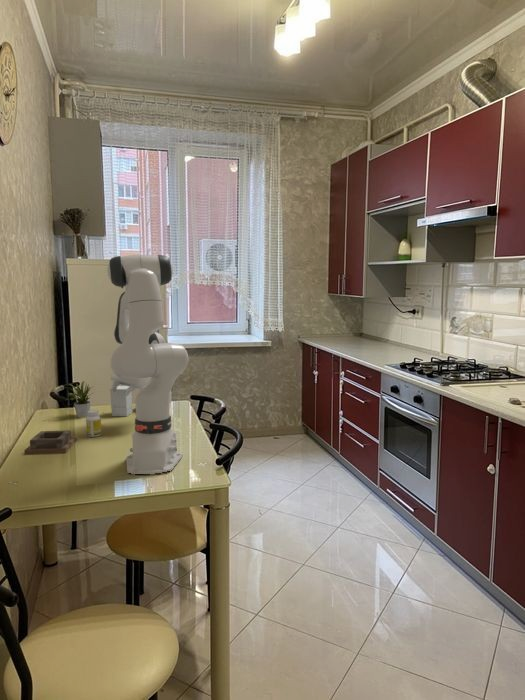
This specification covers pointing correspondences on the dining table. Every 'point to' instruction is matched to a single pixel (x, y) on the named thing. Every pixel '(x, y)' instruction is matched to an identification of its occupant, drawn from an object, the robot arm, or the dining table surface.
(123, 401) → the supplement box
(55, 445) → the socket holder
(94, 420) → the supplement bottle
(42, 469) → the dining table surface
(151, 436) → the robot arm
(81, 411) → the house plant
